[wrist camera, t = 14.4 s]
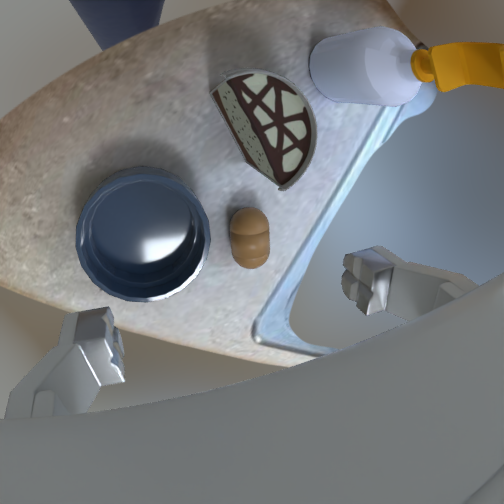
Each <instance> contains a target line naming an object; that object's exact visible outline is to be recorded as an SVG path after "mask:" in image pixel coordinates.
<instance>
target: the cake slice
mask: <svg viewBox="0 0 504 504" xmlns="http://www.w3.org/2000/svg"><path fill="white" fill-rule="evenodd" d="M220 75H221V76H225V77H226V79H225V80H224V81H222V82H221V83H220V84H219V85H218V86H217V87H215V88H214V89H213V90H212V91H211V92H210V95H211V97H212V99H213V101H214V103H215V104H216V106H217V108H218V110H219V112H220V114H221V116H222V118H223V119H224V121H225V123H226V125H227V127H228V129H229V131H230V133H231V135H232V136H233V138H234V140H235V142H236V144H237V146H238V148H239V150H240V152H241V154H242V156H243V157H244V159H245V161H246V163H247V164H249V165H250V166H251V167H253V168H254V169H256V170H257V171H258V172H260V173H261V174H263V175H264V176H265V177H267V178H268V179H269V180H271V181H272V182H273V183H275V184H276V185H277V186H279V187H280V188H278V190H280V191H286V190H287V189H289V188H290V187H291V186H293V185H294V184H295V183H296V182H297V181H298V180H299V179H300V178H301V177H302V175H303V174H304V173H305V172H306V170H307V168H308V167H309V165H310V163H311V161H312V158H313V156H314V153H315V149H316V144H317V124H316V118H315V115H314V112H313V109H312V107H311V105H310V103H309V101H308V99H307V98H306V97H305V95H304V94H303V93H302V91H301V90H300V89H299V88H298V87H297V86H296V85H295V84H294V83H292V82H291V81H290V80H288V79H287V78H285V77H283V76H281V75H279V74H277V73H274V72H271V71H267V70H264V69H258V68H239V69H234V70H229V71H227V72H224V73H222V74H220Z"/></svg>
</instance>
